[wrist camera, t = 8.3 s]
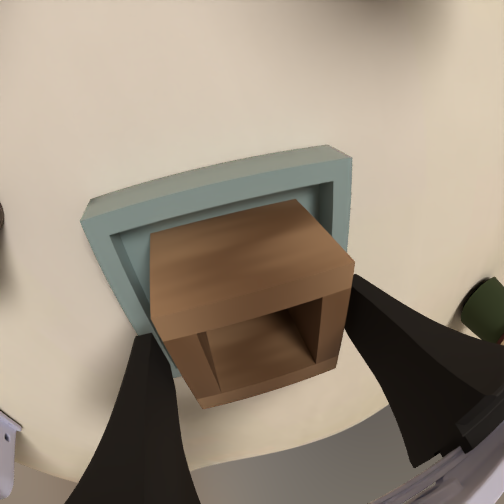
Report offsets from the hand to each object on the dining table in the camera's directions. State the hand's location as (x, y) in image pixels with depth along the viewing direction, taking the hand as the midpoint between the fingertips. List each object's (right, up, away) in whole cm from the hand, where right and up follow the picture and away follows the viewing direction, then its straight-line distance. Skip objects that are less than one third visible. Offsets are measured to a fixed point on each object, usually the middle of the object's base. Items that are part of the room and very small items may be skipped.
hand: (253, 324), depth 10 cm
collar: (-1, +2, +2) cm, 3 cm away
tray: (-1, +2, +3) cm, 4 cm away
